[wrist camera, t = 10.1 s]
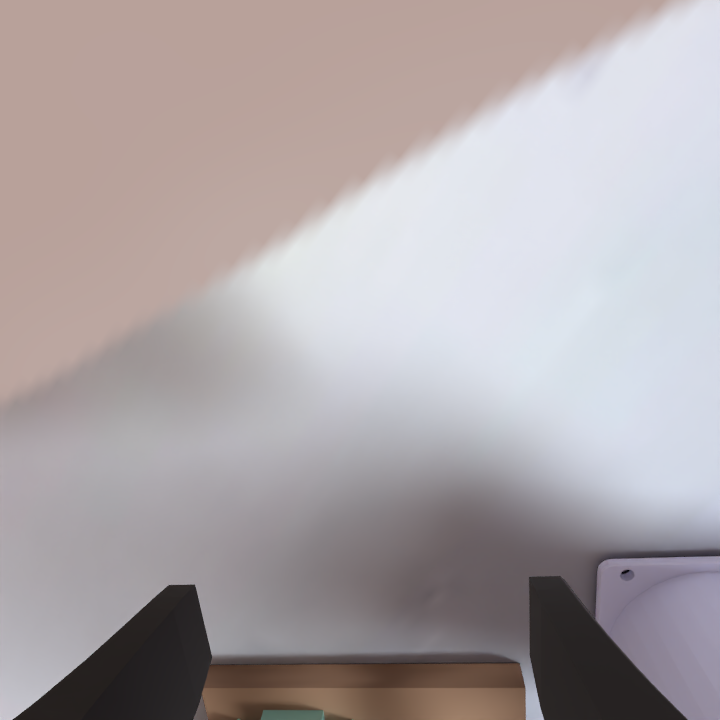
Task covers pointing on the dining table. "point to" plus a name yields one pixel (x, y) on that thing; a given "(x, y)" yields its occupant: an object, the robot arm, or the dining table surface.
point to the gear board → (368, 691)
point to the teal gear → (292, 715)
